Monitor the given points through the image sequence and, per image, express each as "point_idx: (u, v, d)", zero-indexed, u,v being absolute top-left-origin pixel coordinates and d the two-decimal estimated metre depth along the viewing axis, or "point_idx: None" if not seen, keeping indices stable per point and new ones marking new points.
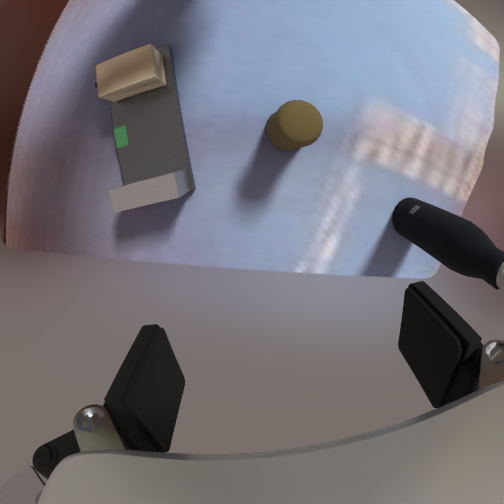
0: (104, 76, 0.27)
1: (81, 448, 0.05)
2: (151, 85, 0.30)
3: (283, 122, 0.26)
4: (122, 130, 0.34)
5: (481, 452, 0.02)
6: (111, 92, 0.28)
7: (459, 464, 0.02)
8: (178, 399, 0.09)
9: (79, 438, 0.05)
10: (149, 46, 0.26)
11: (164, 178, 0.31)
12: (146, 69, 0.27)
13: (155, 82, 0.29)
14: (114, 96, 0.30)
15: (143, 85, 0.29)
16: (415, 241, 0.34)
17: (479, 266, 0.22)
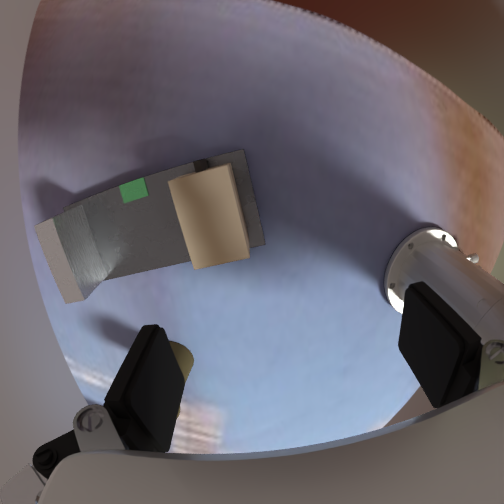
0: (202, 187, 0.22)
1: (81, 448, 0.05)
2: None
3: None
4: (141, 191, 0.27)
5: (481, 452, 0.02)
6: (174, 203, 0.23)
7: (458, 464, 0.02)
8: (178, 399, 0.09)
9: (79, 438, 0.05)
10: (244, 256, 0.24)
11: (76, 289, 0.24)
12: (206, 256, 0.24)
13: None
14: None
15: None
16: None
17: None
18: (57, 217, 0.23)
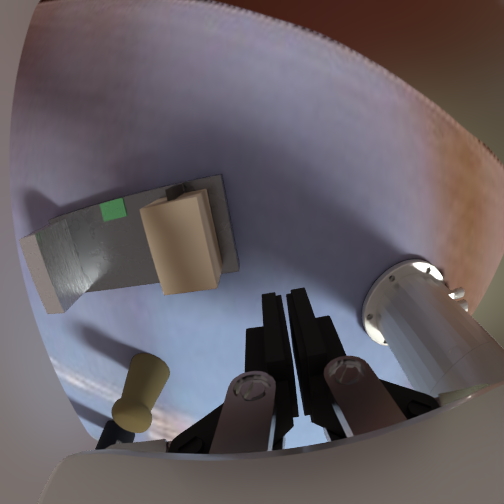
0: (172, 217, 0.22)
1: (223, 413, 0.06)
2: None
3: (122, 416, 0.26)
4: (120, 212, 0.27)
5: (481, 452, 0.02)
6: (145, 231, 0.23)
7: (458, 464, 0.02)
8: None
9: (227, 402, 0.06)
10: (212, 286, 0.24)
11: (57, 302, 0.24)
12: (175, 283, 0.24)
13: None
14: None
15: None
16: (97, 445, 0.36)
17: None
18: (40, 233, 0.23)
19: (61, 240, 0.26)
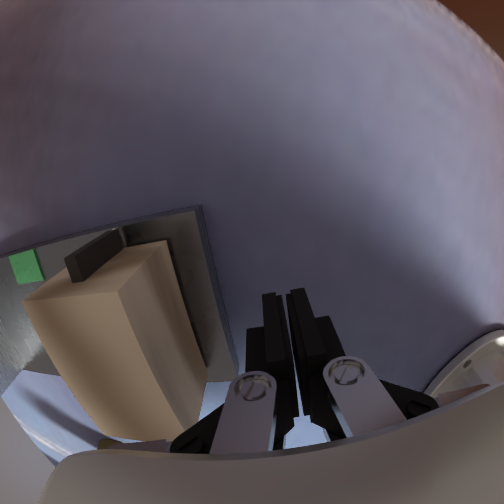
0: (77, 327, 0.08)
1: (223, 413, 0.06)
2: None
3: None
4: (34, 272, 0.13)
5: (481, 452, 0.02)
6: (44, 341, 0.09)
7: (458, 464, 0.02)
8: None
9: (228, 402, 0.06)
10: None
11: None
12: (117, 427, 0.10)
13: None
14: None
15: None
16: None
17: None
18: None
19: None
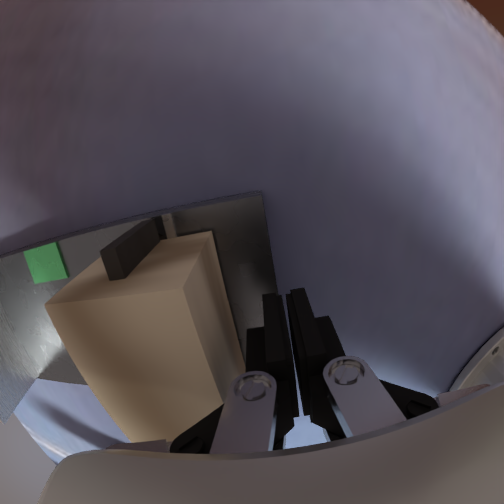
0: (120, 334, 0.07)
1: (223, 413, 0.06)
2: None
3: None
4: (56, 269, 0.12)
5: (481, 452, 0.02)
6: (71, 351, 0.08)
7: (458, 464, 0.02)
8: None
9: (228, 402, 0.06)
10: None
11: None
12: None
13: None
14: None
15: None
16: None
17: None
18: None
19: None
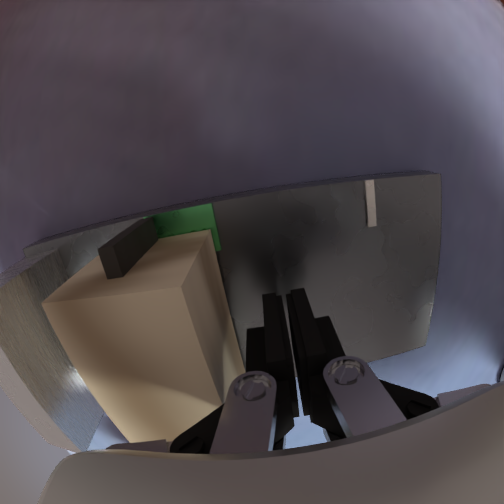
0: (118, 333, 0.07)
1: (223, 413, 0.06)
2: None
3: None
4: None
5: (481, 452, 0.02)
6: (68, 350, 0.08)
7: (458, 464, 0.02)
8: None
9: (228, 402, 0.06)
10: None
11: (65, 439, 0.09)
12: None
13: None
14: None
15: None
16: None
17: None
18: None
19: None
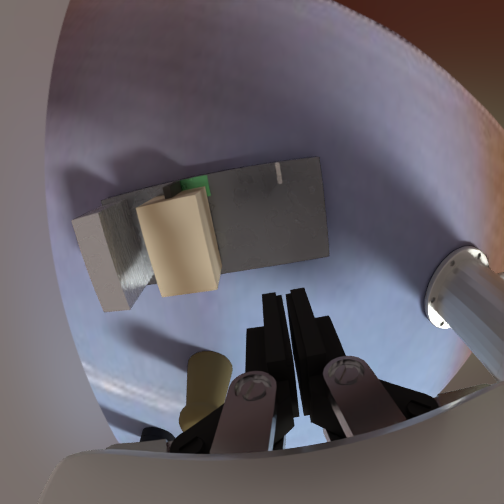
0: (170, 215, 0.21)
1: (223, 413, 0.06)
2: None
3: None
4: None
5: (481, 452, 0.02)
6: (142, 230, 0.22)
7: (458, 464, 0.02)
8: None
9: (228, 402, 0.06)
10: (212, 288, 0.23)
11: (121, 297, 0.23)
12: (173, 285, 0.23)
13: None
14: None
15: None
16: None
17: None
18: (103, 212, 0.21)
19: (123, 223, 0.25)
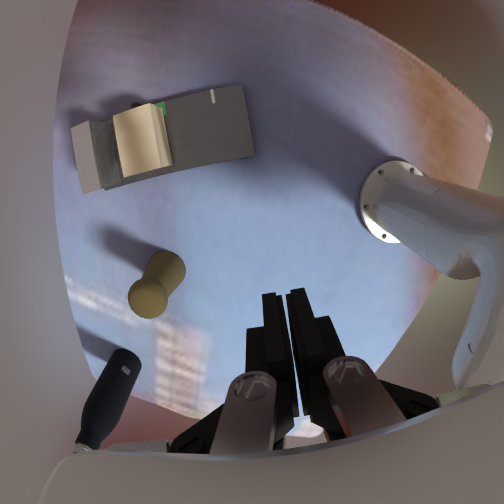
0: (133, 117, 0.28)
1: (223, 413, 0.06)
2: None
3: (140, 291, 0.31)
4: None
5: (481, 452, 0.02)
6: (115, 130, 0.29)
7: (458, 465, 0.02)
8: None
9: (228, 402, 0.06)
10: (157, 166, 0.30)
11: (96, 179, 0.30)
12: (132, 166, 0.30)
13: None
14: None
15: None
16: (102, 372, 0.42)
17: (84, 429, 0.30)
18: (92, 121, 0.28)
19: (105, 135, 0.32)
